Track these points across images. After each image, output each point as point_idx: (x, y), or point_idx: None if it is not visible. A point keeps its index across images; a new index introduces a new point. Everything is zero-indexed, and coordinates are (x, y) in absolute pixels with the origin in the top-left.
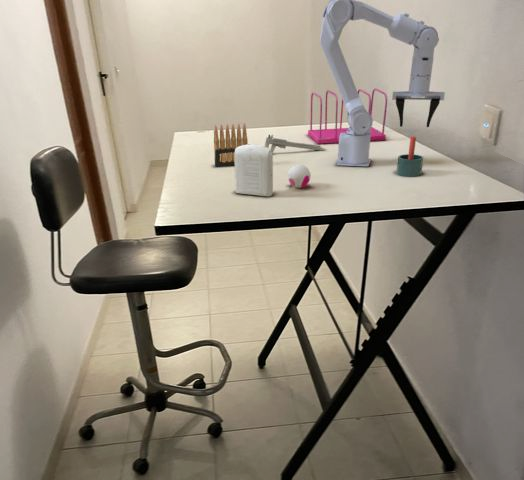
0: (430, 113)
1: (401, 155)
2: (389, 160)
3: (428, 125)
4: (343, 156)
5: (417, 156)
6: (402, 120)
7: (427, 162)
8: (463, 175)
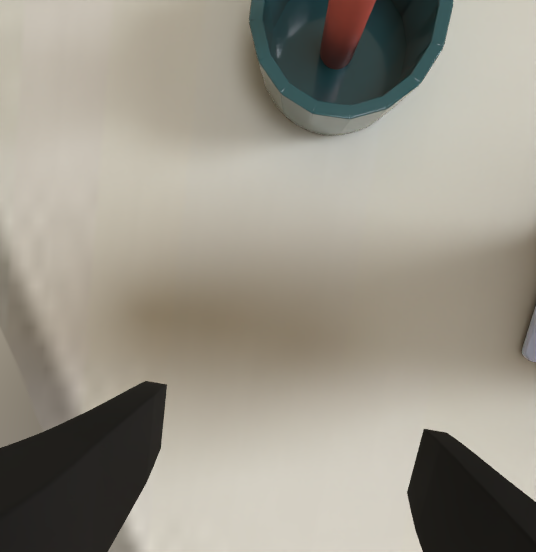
0: (64, 449)
1: (413, 73)
2: (401, 362)
3: (142, 384)
4: None
5: (286, 78)
6: (460, 460)
7: (194, 314)
8: (24, 18)
